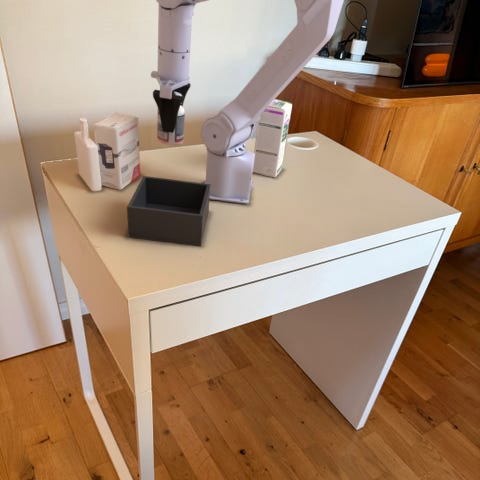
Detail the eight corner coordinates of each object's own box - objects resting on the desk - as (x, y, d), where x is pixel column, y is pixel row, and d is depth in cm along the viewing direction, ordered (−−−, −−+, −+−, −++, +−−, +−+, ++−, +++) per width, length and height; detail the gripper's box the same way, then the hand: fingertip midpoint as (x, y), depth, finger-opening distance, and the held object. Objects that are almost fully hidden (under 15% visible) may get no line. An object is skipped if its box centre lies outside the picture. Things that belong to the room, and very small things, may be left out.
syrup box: (275, 178, 101) (287, 109, 91) (250, 172, 102) (259, 103, 92) (282, 169, 105) (293, 102, 95) (258, 163, 106) (267, 97, 96)
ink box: (119, 169, 95) (115, 110, 88) (141, 174, 95) (139, 116, 87) (98, 185, 89) (92, 123, 81) (121, 190, 88) (117, 128, 81)
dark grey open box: (208, 212, 86) (210, 184, 82) (200, 246, 76) (202, 216, 73) (144, 204, 85) (143, 175, 82) (128, 237, 76) (126, 206, 72)
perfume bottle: (102, 190, 88) (96, 126, 80) (92, 191, 87) (85, 127, 79) (88, 173, 92) (81, 111, 85) (79, 174, 91) (71, 112, 84)
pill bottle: (181, 136, 94) (184, 91, 89) (184, 146, 91) (187, 100, 85) (156, 134, 93) (156, 88, 87) (157, 145, 90) (158, 97, 84)
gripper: (159, 36, 86) (158, 111, 95) (142, 54, 75) (142, 135, 85) (196, 43, 87) (191, 116, 96) (184, 61, 76) (180, 142, 85)
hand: (171, 126), depth 90 cm, fingers closed on pill bottle, 5 cm apart
